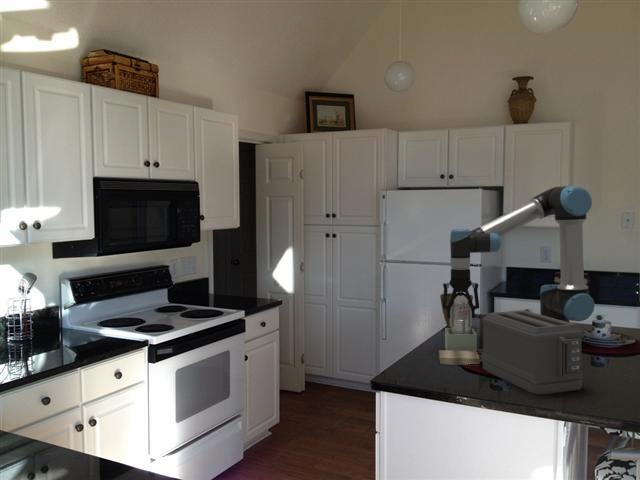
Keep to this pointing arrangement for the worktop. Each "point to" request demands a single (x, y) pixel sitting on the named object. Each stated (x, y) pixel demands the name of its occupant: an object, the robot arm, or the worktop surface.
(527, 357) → the toaster
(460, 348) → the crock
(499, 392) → the worktop surface
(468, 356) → the board
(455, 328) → the water bottle
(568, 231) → the robot arm
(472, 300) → the plant pot
